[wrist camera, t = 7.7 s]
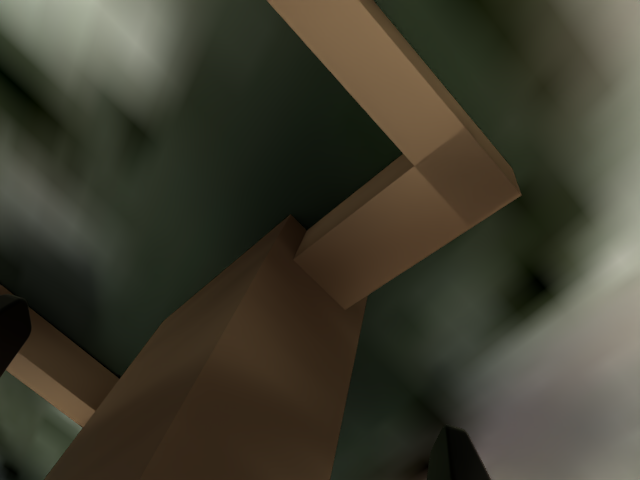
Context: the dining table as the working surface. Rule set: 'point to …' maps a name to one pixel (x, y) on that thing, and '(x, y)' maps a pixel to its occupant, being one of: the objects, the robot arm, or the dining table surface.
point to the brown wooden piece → (282, 292)
